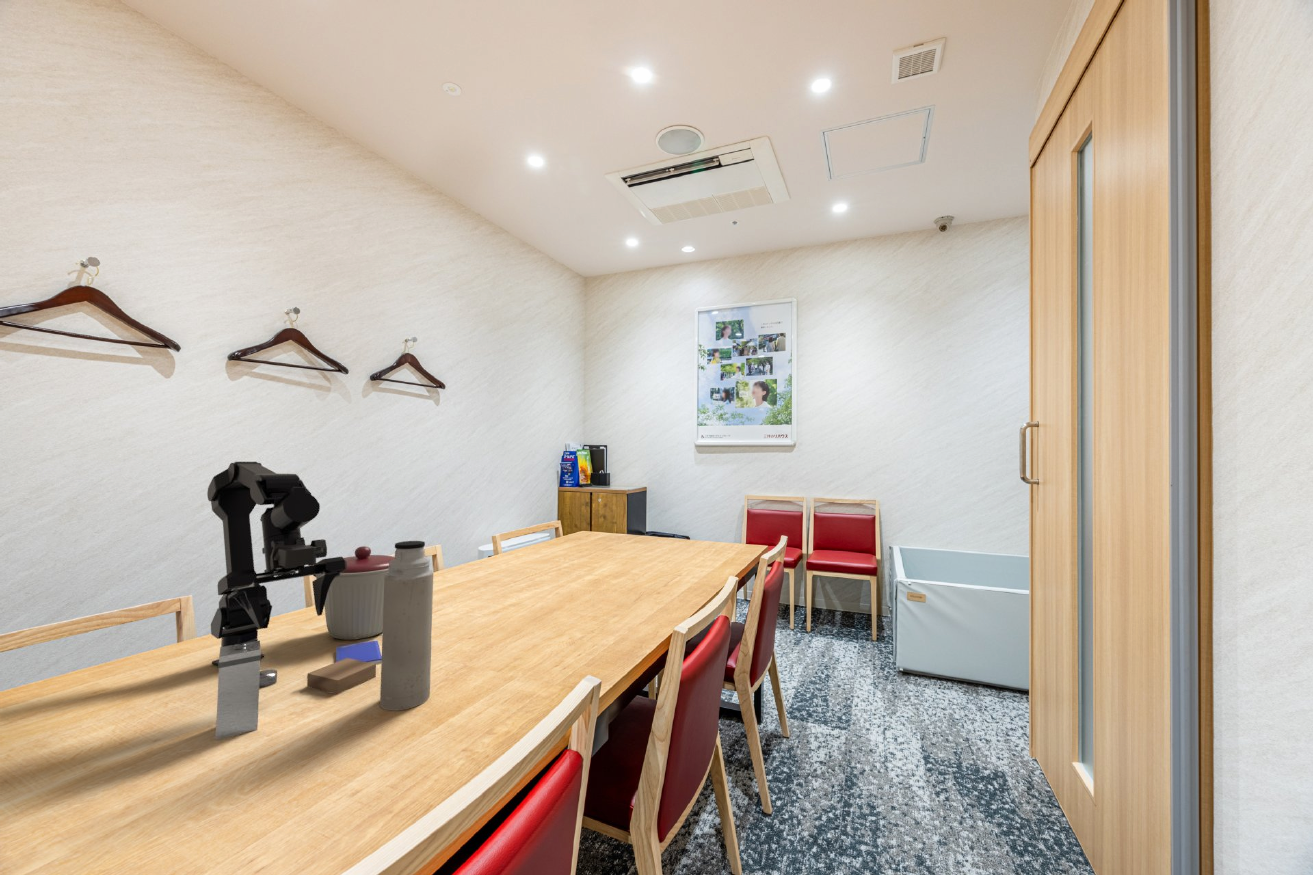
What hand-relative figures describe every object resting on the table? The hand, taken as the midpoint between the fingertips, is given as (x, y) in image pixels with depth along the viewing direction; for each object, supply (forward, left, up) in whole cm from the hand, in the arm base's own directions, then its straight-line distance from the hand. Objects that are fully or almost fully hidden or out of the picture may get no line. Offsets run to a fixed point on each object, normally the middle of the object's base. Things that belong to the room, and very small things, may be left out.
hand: (291, 621), depth 92 cm
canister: (-18, +29, -14) cm, 36 cm away
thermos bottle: (+20, +7, -14) cm, 25 cm away
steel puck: (-10, +2, -13) cm, 17 cm away
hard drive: (-5, +18, -14) cm, 23 cm away
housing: (+3, -10, -13) cm, 17 cm away
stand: (+3, +8, -13) cm, 16 cm away
